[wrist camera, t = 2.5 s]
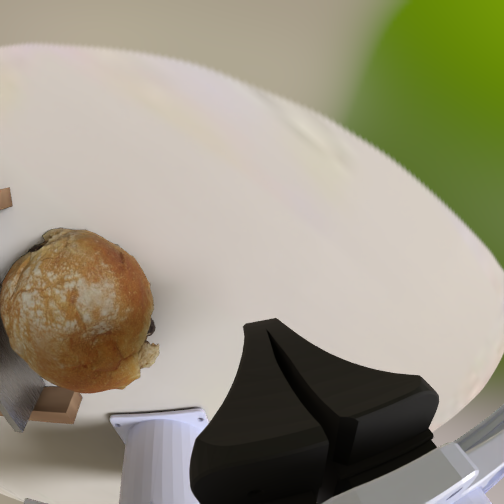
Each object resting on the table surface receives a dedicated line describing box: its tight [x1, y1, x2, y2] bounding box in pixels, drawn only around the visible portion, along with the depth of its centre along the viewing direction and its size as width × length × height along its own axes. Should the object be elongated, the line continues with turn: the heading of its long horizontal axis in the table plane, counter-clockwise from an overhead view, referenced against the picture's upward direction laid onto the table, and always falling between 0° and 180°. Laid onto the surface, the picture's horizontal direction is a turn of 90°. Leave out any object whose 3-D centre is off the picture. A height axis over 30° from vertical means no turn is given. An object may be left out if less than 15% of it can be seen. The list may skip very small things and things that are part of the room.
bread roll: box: [0, 228, 159, 393], centre depth 15 cm, size 10×10×8 cm
